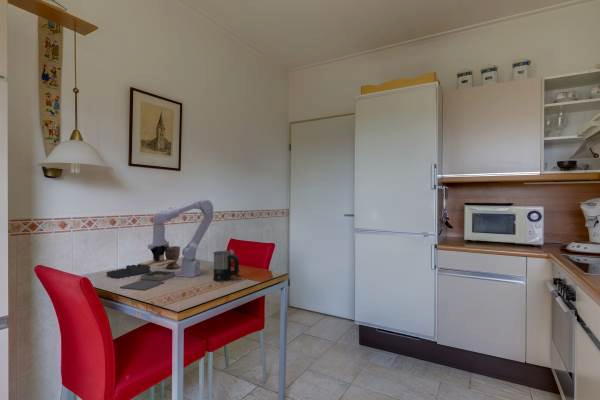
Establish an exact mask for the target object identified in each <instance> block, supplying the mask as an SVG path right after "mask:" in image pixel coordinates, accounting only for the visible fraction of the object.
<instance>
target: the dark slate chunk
mask: <svg viewBox="0 0 600 400" xmlns="http://www.w3.org/2000/svg"><path fill="white" fill-rule="evenodd" d="M150 269H151V265H141V264H139V263H137V264H131V265H129V264H128V265H126V268H120V269H115V270H111V271H106V275H107V276H110V277H111V278H113V279H115V278H116V280H121V279H125V277H126V278H130V277H131V276H132V277H136V276H141V275H144V274H147V273H150V272H153V271H152V270H150ZM120 278H121V279H120Z"/></svg>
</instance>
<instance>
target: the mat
mask: <svg viewBox="0 0 600 400" xmlns="http://www.w3.org/2000/svg"><path fill="white" fill-rule="evenodd" d="M163 284H165V281H150V280H141V279H140V280H136V281H133V282H131V283H128V284H125V285H122V286H120V287H119V289H125V290H134V291H147V290H150V289H152V288H155V287H158V286H160V285H163Z"/></svg>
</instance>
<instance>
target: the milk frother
mask: <svg viewBox="0 0 600 400" xmlns="http://www.w3.org/2000/svg"><path fill="white" fill-rule="evenodd" d="M230 253H231V252H230V250H217V251H213V279H212V280H213V281H215V282H226V281H229V280H231V277H233V276H235V277H236V276H238V275H239V272H240V269H239V268H240V267H239V266H240V258H239V257H238V256H237V255H235V254H233V255H230ZM231 259H232V260H233V261H234V264H233V265H234V266H233V268H234V269H233V270H232V268H231V267H232V266H231Z"/></svg>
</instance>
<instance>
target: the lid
mask: <svg viewBox="0 0 600 400" xmlns="http://www.w3.org/2000/svg"><path fill="white" fill-rule="evenodd" d="M173 262H176V260H166V258H165V254H164V255H159V261H155V260H154V256H153V255H152V259H151V260H146V261H142V262H140V263H138V264H141V265H148V266H153V267H154V266H155V267H163V266H167V265H168V264H170V263H173ZM176 263H177V262H176Z"/></svg>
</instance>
